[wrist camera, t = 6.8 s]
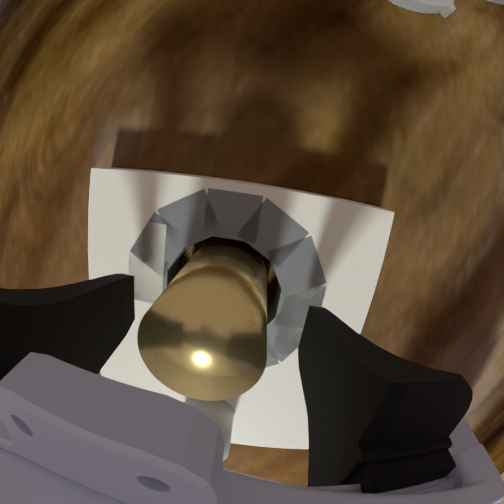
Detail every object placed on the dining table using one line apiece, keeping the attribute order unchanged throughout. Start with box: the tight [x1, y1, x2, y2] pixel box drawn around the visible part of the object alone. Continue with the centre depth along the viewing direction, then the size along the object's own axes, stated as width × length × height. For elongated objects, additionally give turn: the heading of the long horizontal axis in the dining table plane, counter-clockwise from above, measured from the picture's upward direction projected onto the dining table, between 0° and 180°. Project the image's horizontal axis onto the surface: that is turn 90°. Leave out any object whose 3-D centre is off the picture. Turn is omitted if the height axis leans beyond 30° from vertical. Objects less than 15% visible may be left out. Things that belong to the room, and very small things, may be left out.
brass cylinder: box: [137, 237, 267, 401], centre depth 12 cm, size 4×4×7 cm
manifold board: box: [88, 167, 394, 460], centre depth 13 cm, size 14×16×5 cm
